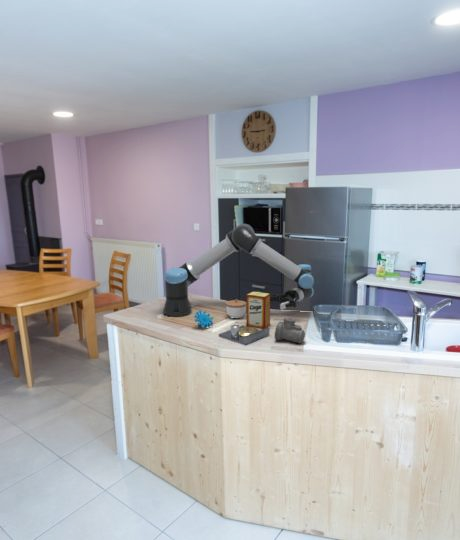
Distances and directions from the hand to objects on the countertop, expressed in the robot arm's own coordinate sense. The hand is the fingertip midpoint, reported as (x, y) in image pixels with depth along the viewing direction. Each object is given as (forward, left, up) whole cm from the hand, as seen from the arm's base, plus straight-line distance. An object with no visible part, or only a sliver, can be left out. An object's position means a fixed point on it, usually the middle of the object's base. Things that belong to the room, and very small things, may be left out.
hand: (269, 304), depth 190 cm
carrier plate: (+4, -23, -9) cm, 25 cm away
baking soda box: (0, -8, -9) cm, 12 cm away
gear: (-19, -26, -9) cm, 33 cm away
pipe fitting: (+23, -15, -9) cm, 29 cm away
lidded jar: (-17, -5, -9) cm, 20 cm away
